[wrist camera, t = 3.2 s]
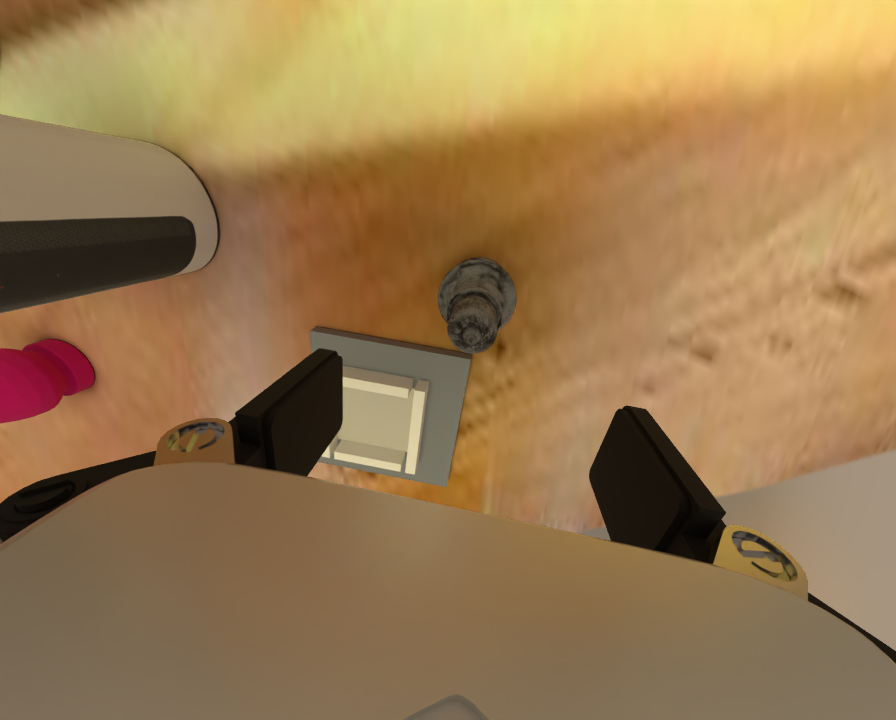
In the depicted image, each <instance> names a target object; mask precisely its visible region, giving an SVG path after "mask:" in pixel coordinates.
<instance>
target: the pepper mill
mask: <svg viewBox="0 0 896 720" xmlns="http://www.w3.org/2000/svg"><path fill="white" fill-rule="evenodd" d="M94 377H95V375H94V371H93V368H92V366H91V364H90V363H89V361H88V360H87V359H86V357H85V356H84V355H83V354H82V353H81V352H80V351H78V350H77V349H76V348H75V347H73V346H71V345H70V344H68V343H66V342H63V341H60V340H55V339H47V340H43V341H40V342H37V343H33V344H30V345H27V346H25V347H24V348H23V349H22V351H21V350H16V349H7V348H3V349H0V423H5V422H12V421H18V420H22V419H26V418H30V417H33V416H36V415H39V414H41V413H44V412H47V411H49V410H51V409H53V408H54V407H55V406H57V405H58V403H59V402H60V400H61V399H62V396H63V395H64V396H69V395H73V394H75V393H78V392H80V391H82V390H84V389H87V388H89V387H90V386H91V385H92V384H93V382H94Z"/></svg>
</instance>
